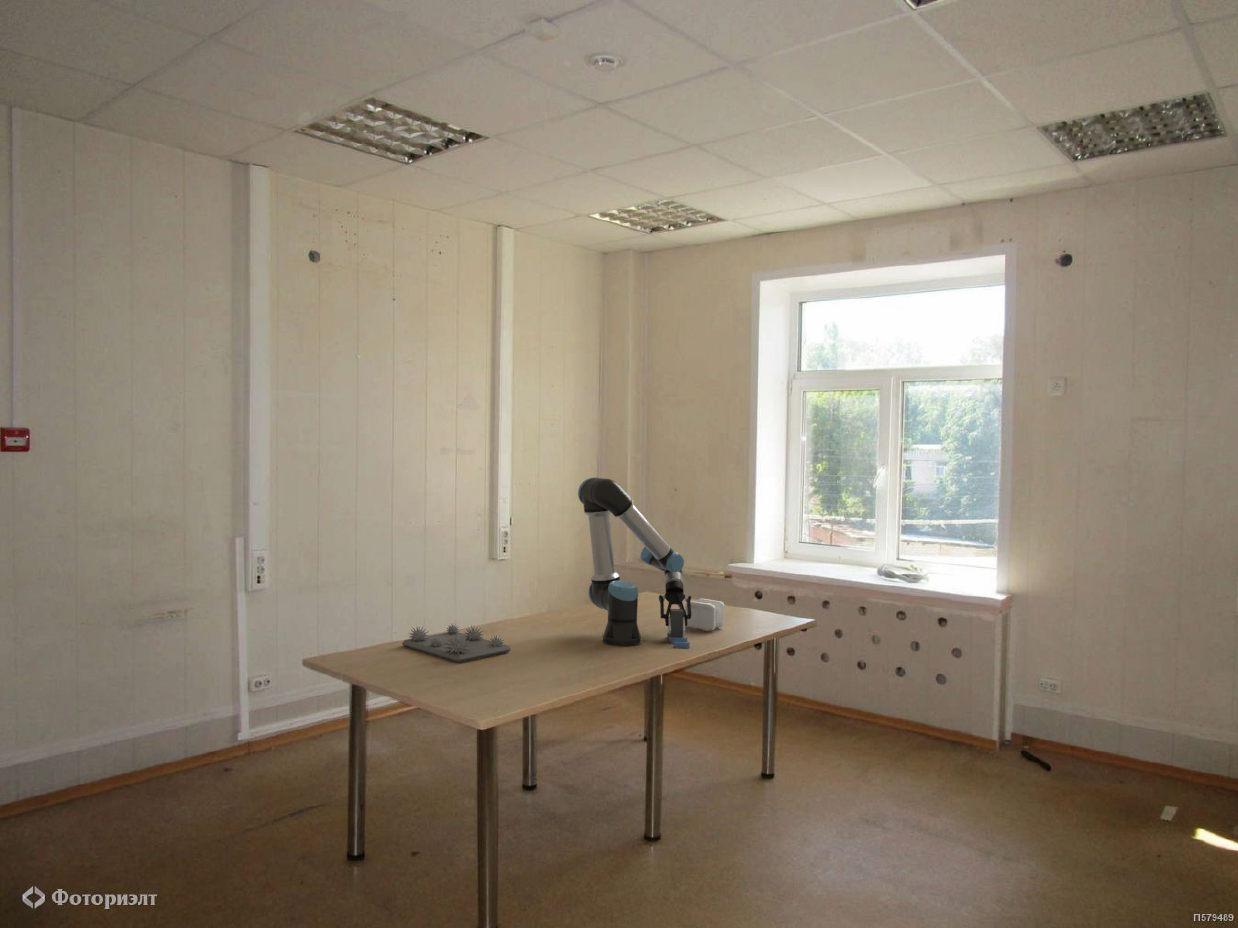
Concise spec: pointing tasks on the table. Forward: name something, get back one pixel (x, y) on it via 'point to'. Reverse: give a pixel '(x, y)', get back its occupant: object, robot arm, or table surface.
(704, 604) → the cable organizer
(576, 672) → the table surface
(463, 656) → the decorative tray
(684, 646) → the blue flat block
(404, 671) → the table surface
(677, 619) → the dark grey rectangular block
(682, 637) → the pair of grey bars
